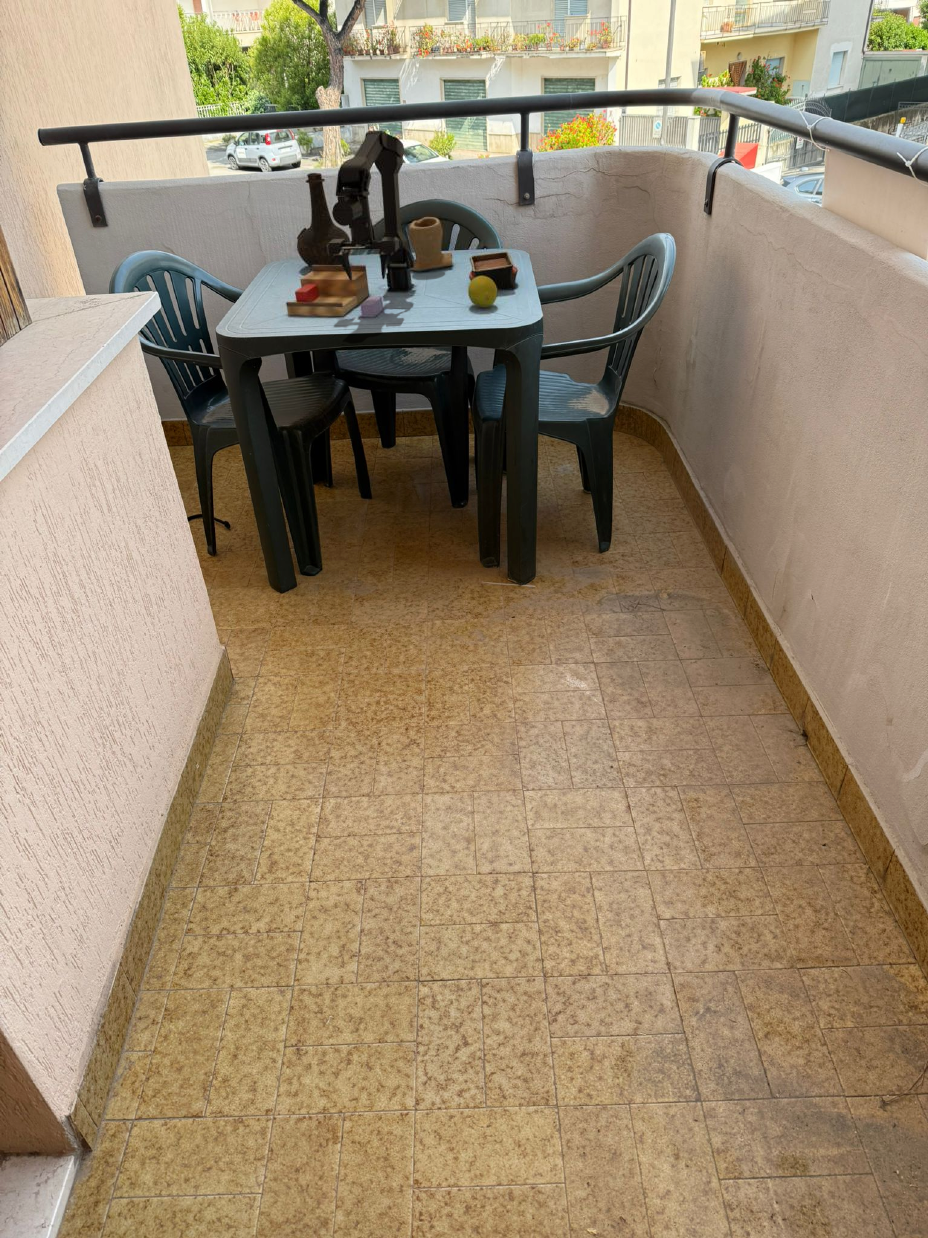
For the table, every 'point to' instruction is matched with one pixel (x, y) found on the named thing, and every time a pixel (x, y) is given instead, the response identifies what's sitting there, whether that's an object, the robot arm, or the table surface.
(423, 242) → the tan hollow boot-shaped piece
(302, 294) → the red nougat bar
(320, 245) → the glass bottle
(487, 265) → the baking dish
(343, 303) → the pine rack
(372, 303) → the lilac nougat bar
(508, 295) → the table surface
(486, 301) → the lemon
